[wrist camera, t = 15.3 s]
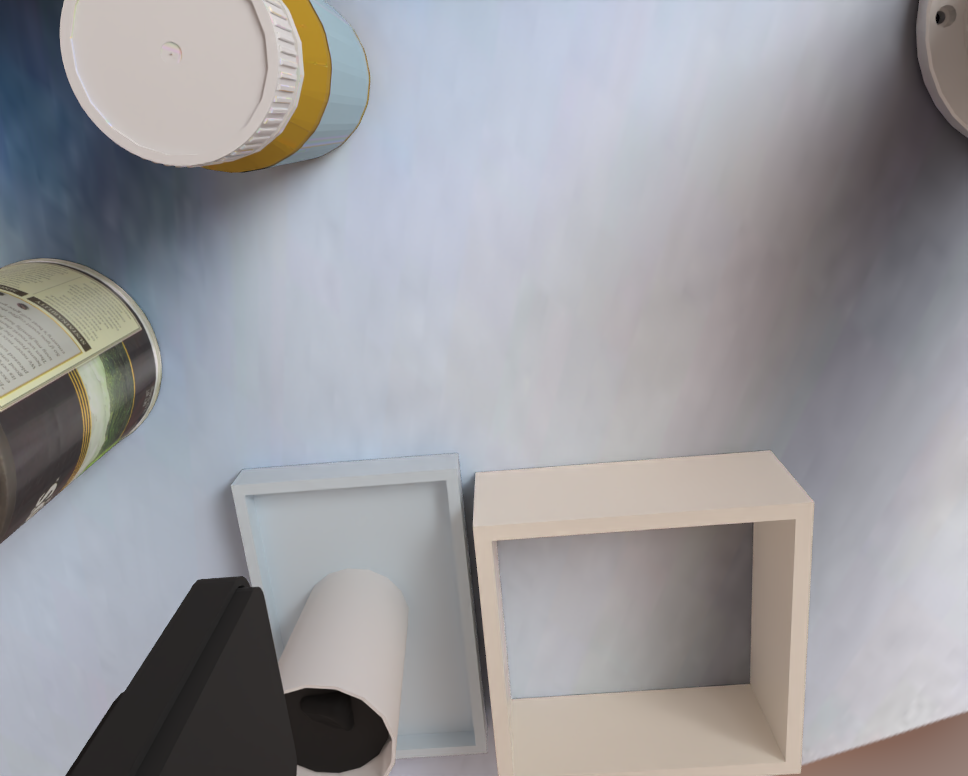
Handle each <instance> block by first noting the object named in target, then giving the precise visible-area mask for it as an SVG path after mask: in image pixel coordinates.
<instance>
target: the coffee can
mask: <svg viewBox="0 0 968 776" xmlns="http://www.w3.org/2000/svg"><path fill="white" fill-rule="evenodd" d="M161 377H162V364H161V355H160V350H159V346H158V342H157V339H156V337H155V334H154V331H153V329H152V327H151V325H150V323H149V321H148V319H147V317H146V316H145V314H144V313H143V311H142V310H141V309H140V307H139V306H138V305H137V304H136V302H135V301H134V300H133V299H132V298H131V297H130V296H129V295H128V294H127V293H126V292H125V291H124V290H123V289H122V288H121V287H119V286H118V285H117V284H116V283H114V282H113V281H111V280H110V279H108V278H107V277H105V276H104V275H102V274H100V273H98V272H97V271H95V270H93V269H91V268H89V267H87V266H84V265H81V264H77V263H73V262H69V261H65V260H60V259H47V258H39V259H30V260H24V261H19V262H16V263H13V264H10V265H7V266H4V267H2V268H1V269H0V544H1V543H2V542H3V541H4V540H5V539H7V538H8V537H9V536H10V535H11V534H12V533H13V532H15V531H16V530H17V529H18V528H19V527H20V526H21V525H23V524H24V523H25V522H26V521H27V520H29V519H30V518H31V517H32V516H34V515H35V514H36V513H37V512H38V511H39V510H40V509H41V508H43V507H44V506H45V505H46V504H47V503H48V502H49V501H51V500H52V499H53V498H54V497H55V496H56V495H57V494H58V493H60V492H61V491H62V490H63V489H64V488H65V487H67V486H68V485H69V484H70V483H71V482H72V481H74V480H75V479H76V478H77V477H78V476H79V475H81V474H82V473H83V472H84V471H85V470H86V469H87V468H89V467H90V466H91V465H92V464H93V463H94V462H96V461H97V460H98V459H99V458H100V457H102V456H103V455H104V454H105V453H106V452H108V451H109V450H110V449H111V448H112V447H113V446H115V445H116V444H117V443H118V442H119V441H120V440H122V439H124V438H125V437H127V436H128V435H130V434H131V433H132V432H133V431H135V430H136V429H137V428H138V427H139V426H140V425H141V424H142V423H143V421H144V420H145V419H146V418H147V416H148V415H149V413H150V411H151V410H152V408H153V406H154V404H155V402H156V399H157V397H158V394H159V390H160V384H161Z"/></svg>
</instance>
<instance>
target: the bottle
mask: <svg viewBox="0 0 968 776" xmlns="http://www.w3.org/2000/svg"><path fill="white" fill-rule="evenodd" d="M60 46H61V53H62V59H63V64H64V68H65V71H66V74H67V77H68V80H69V82H70V85H71V87H72V89H73V92H74V94H75V96H76V97H77V99H78V101H79V103H80V104H81V106H82V107H83V109H84V111H85V112H86V113H87V115H88V116H89V117H90V118H91V120H92V121H93V122H94V123H95V124H96V126H97V127H98V128H99V129H100V130H101V131H102V132H103V133H105V134H106V135H107V136H108V137H109V138H110V139H111V140H113V141H114V142H115V143H117V144H118V145H119V146H121V147H122V148H124V149H126V150H128V151H129V152H130V153H132V154H135V155H137V156H140V157H141V158H142V159H147V160H150V161H152V162H153V163H156V164H157V163H162V164H164V165H165V166H174V165H175V166H176V167H179V168H181V167H188V168H192V167H202V168H206V169H210V170H217V171H224V172H230V173H235V172H249V171H254V170H259V169H265V168H270V167H275V166H279V165H284V164H289V163H294V162H298V161H303V160H308V159H313V158H317V157H320V156H323V155H325V154H327V153H328V152H330V151H332V150H334V149H335V148H337V147H339V146H341V145H342V144H343V143H344V142H345V141H346V140H347V139H348V138H349V137H350V136H351V134H352V133H353V132H354V131H355V130H356V129H357V127H358V126H359V124H360V122H361V119H362V117H363V115H364V112H365V110H366V107H367V104H368V100H369V89H370V72H369V67H368V63H367V58H366V54H365V51H364V48H363V46H362V44H361V43H360V41H359V39H358V37H357V35H356V33H355V31H354V30H353V28H352V27H351V26H350V25H349V23H348V22H347V21H346V20H345V19H344V18H343V17H342V16H341V15H340V14H339V13H338V12H337V11H336V10H335V9H334V8H333V7H331V6H330V5H328V4H327V3H326V2H324V1H323V0H64V4H63V8H62V14H61V21H60Z"/></svg>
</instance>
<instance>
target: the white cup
mask: <svg viewBox="0 0 968 776" xmlns="http://www.w3.org/2000/svg"><path fill="white" fill-rule="evenodd" d="M408 611H409V607H408V605H407V603H406V600H405V598H404V596H403V593H402V591H401V590H400V589H399V588H398V587H397V586H396V585H395V584H394V583H393V582H392V581H390V580H389V579H388V578H387V577H385V576H383V575H380V574H378V573H376V572H373V571H371V570H368V569H352V568H347V569H344V570H340V571H337V572H334V573H330V574H328V575H327V576H326V577H324V578H323V579H322V580H321V581H319V582H318V583H317V584H316V585H314V587H313V589H312V591H311V593H310V595H309V597H308V599H307V602H306V604H305V606H304V608H303V610H302V612H301V615H300V617H299V619H298V621H297V623H296V625H295V627H294V629H293V632H292V634H291V636H290V638H289V640H288V642H287V644H286V646H285V649H284V651H283V653H282V655H281V657H280V659H279V661H278V666H279V671H280V676H281V681H282V686H283V690H284V695H285V700H286V705H287V710H288V715H289V720H290V725H291V730H292V735H293V740H294V745H295V750H296V756H297V774H296V776H388V774H389V773H390V771H391V769H392V767H393V766H394V764H395V757H396V746H397V735H398V725H399V714H400V703H401V692H402V682H403V671H404V660H405V649H406V639H407V628H408Z"/></svg>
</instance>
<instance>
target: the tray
mask: <svg viewBox="0 0 968 776" xmlns="http://www.w3.org/2000/svg"><path fill="white" fill-rule="evenodd" d="M231 489H232V494H233V499H234V504H235V508H236V513H237V518H238V523H239V528H240V533H241V537H242V542H243V547H244V552H245V557H246V562H247V566H248V571H249V576H250V581H251V586H252V587H260V588H261V589H262V591H263V593H264V597H265V601H266V606H267V611H268V616H269V621H270V626H271V631H272V636H273V641H274V646H275V651H276V656H277V661H279V659H280V657H281V655H282V653H283V651H284V649H285V646H286V644H287V642H288V640H289V638H290V636H291V634H292V632H293V629H294V627H295V625H296V623H297V621H298V619H299V617H300V615H301V612H302V610H303V608H304V606H305V604H306V602H307V599H308V597H309V595H310V593H311V591H312V589H313V587H314V585H316V584H317V583H318V582H319V581H321V580H322V579H323V578H324V577H326V576H327V575H328V574H330V573H334V572H337V571H340V570H344V569H347V568H352V569H368V570H371V571H373V572H376V573H378V574H380V575H383V576H385V577H387V578H388V579H389V580H390V581H392V582H393V583H394V584H395V585H396V586H397V587H398V588H399V589H400V590H401V591H402V593H403V596H404V598H405V600H406V603H407V605H408V607H409V611H408V628H407V639H406V649H405V660H404V671H403V682H402V692H401V703H400V714H399V725H398V735H397V746H396V757H395V759H403V758H419V757H435V756H451V755H468V754H484V753H487V720H486V711H485V701H484V692H483V682H482V673H481V663H480V654H479V644H478V635H477V625H476V616H475V606H474V597H473V587H472V578H471V568H470V559H469V549H468V540H467V530H466V521H465V511H464V502H463V492H462V483H461V473H460V464H459V455H458V453H451V454H438V455H425V456H411V457H398V458H385V459H372V460H359V461H346V462H333V463H320V464H306V465H293V466H280V467H267V468H254V469H242V471H241V472H240V473H239V475H238V476H237V478H236V479H235V480H234V482H233V483H232V485H231Z"/></svg>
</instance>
